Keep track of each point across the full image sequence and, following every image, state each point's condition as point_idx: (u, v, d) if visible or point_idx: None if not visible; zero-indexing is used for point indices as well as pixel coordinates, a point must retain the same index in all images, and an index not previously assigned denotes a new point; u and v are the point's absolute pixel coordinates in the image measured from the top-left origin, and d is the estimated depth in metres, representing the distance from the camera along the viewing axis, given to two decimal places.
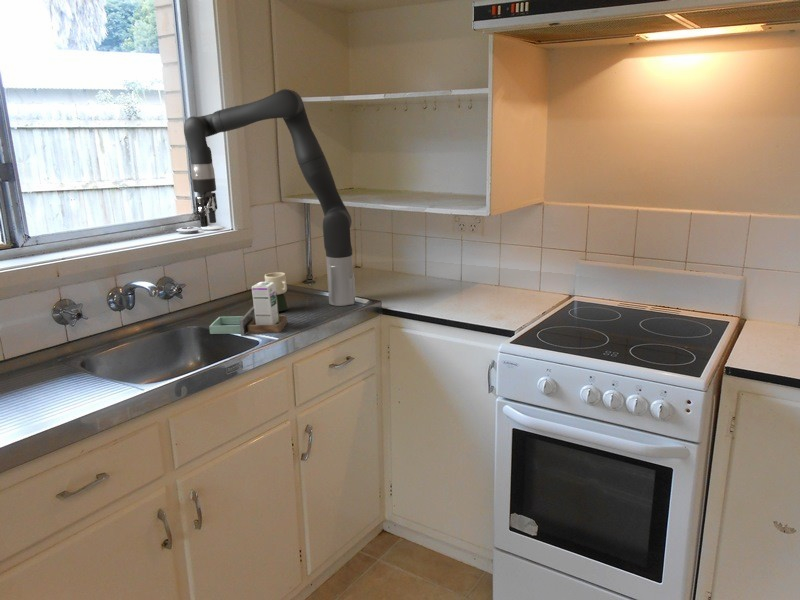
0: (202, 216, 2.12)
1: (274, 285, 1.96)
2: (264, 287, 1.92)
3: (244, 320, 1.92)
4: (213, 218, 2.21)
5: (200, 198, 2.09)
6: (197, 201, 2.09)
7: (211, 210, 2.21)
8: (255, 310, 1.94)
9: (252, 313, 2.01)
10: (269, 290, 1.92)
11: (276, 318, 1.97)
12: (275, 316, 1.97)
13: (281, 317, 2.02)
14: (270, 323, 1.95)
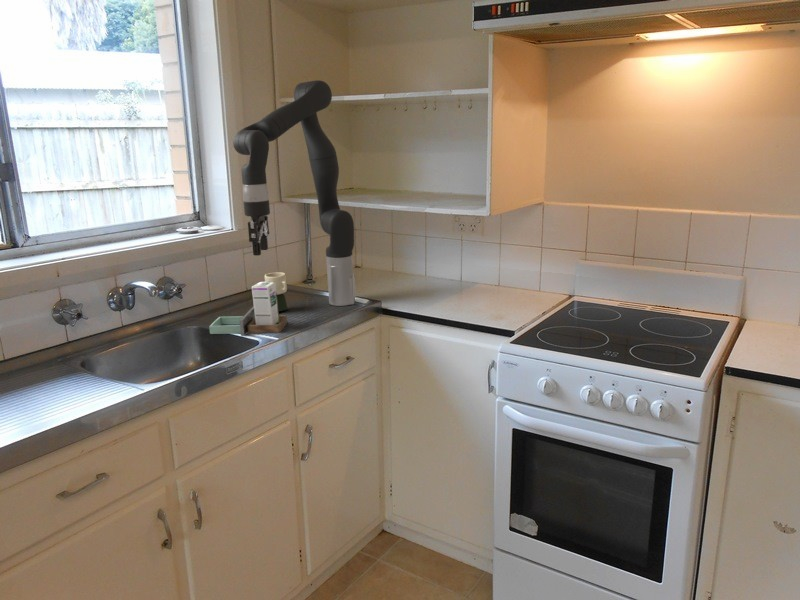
0: (255, 244, 1.86)
1: (274, 285, 1.96)
2: (264, 287, 1.92)
3: (244, 320, 1.92)
4: (265, 244, 1.95)
5: (254, 223, 1.82)
6: (250, 227, 1.83)
7: (263, 235, 1.94)
8: (255, 310, 1.94)
9: (252, 313, 2.01)
10: (269, 290, 1.92)
11: (276, 318, 1.97)
12: (275, 316, 1.97)
13: (281, 317, 2.02)
14: (270, 323, 1.95)
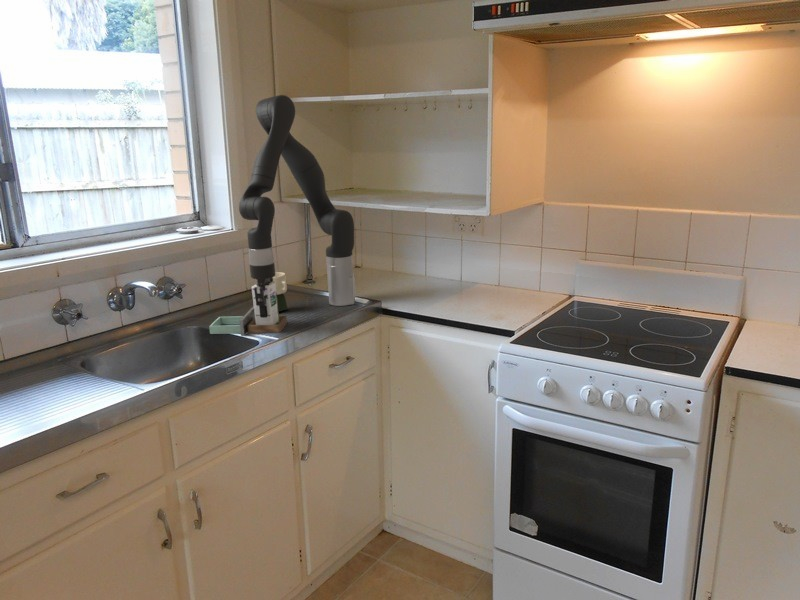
0: (262, 307, 1.92)
1: (274, 285, 1.96)
2: None
3: (244, 320, 1.92)
4: None
5: (260, 289, 1.88)
6: (257, 292, 1.88)
7: None
8: (255, 310, 1.94)
9: (252, 313, 2.01)
10: (269, 290, 1.92)
11: (276, 318, 1.97)
12: (275, 316, 1.97)
13: (281, 317, 2.02)
14: (270, 323, 1.95)
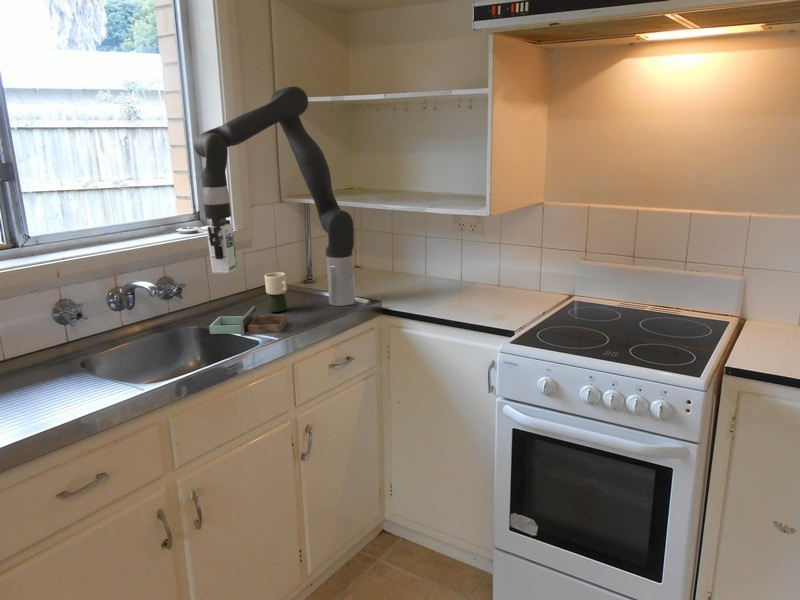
0: (217, 247, 1.87)
1: (230, 227, 1.91)
2: None
3: (244, 320, 1.92)
4: None
5: (214, 228, 1.83)
6: (210, 232, 1.84)
7: None
8: (210, 252, 1.90)
9: (252, 313, 2.01)
10: (224, 230, 1.88)
11: (232, 260, 1.93)
12: (231, 258, 1.92)
13: (281, 317, 2.02)
14: (226, 265, 1.90)
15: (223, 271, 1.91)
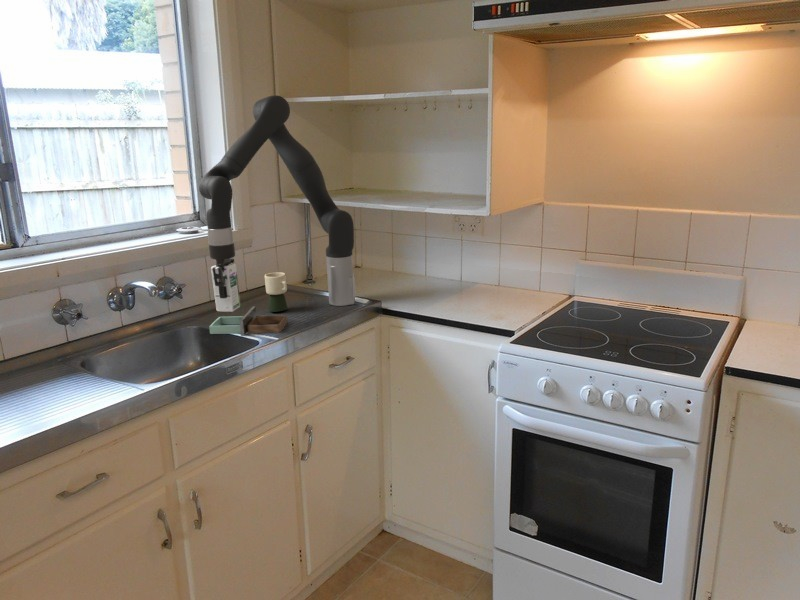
0: (221, 287, 1.91)
1: (234, 266, 1.95)
2: None
3: (244, 320, 1.92)
4: None
5: (218, 269, 1.87)
6: (215, 272, 1.87)
7: None
8: (215, 291, 1.93)
9: (252, 313, 2.01)
10: (228, 270, 1.91)
11: (236, 299, 1.96)
12: (235, 297, 1.95)
13: (281, 317, 2.02)
14: (230, 304, 1.93)
15: (227, 310, 1.94)
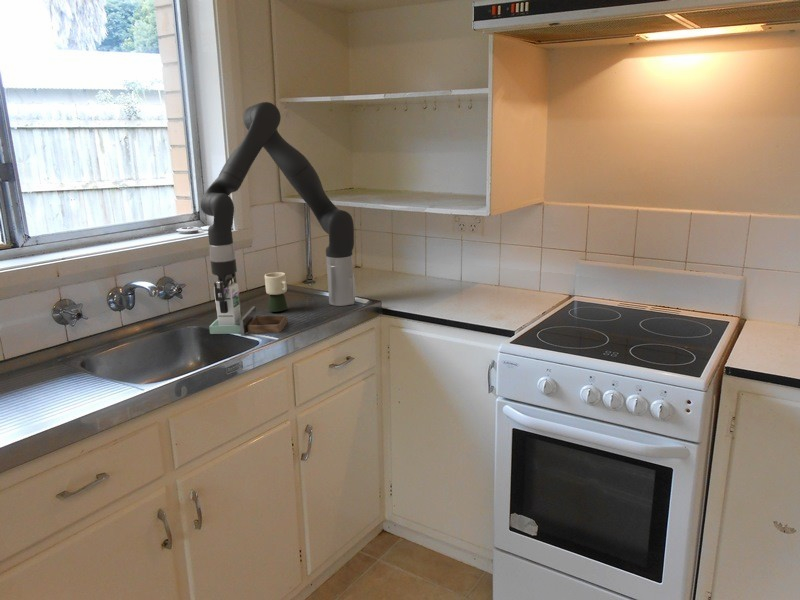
0: (222, 302, 1.91)
1: (237, 286, 1.97)
2: (226, 288, 1.92)
3: (244, 320, 1.92)
4: None
5: (220, 283, 1.88)
6: (216, 287, 1.88)
7: None
8: (217, 311, 1.95)
9: (252, 313, 2.01)
10: (231, 291, 1.93)
11: (239, 318, 1.98)
12: (238, 316, 1.97)
13: (281, 317, 2.02)
14: (233, 324, 1.95)
15: None
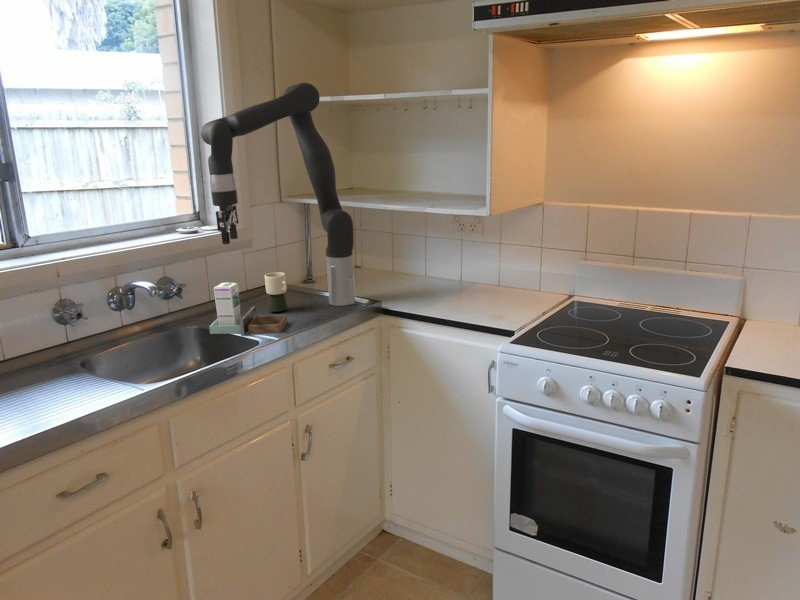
0: (224, 232, 1.90)
1: (237, 286, 1.97)
2: (226, 288, 1.92)
3: (244, 320, 1.92)
4: (234, 234, 1.99)
5: (221, 213, 1.87)
6: (218, 216, 1.87)
7: (232, 225, 1.99)
8: (217, 311, 1.95)
9: (252, 313, 2.01)
10: (231, 291, 1.93)
11: (239, 318, 1.98)
12: (238, 316, 1.97)
13: (281, 317, 2.02)
14: (233, 324, 1.95)
15: None
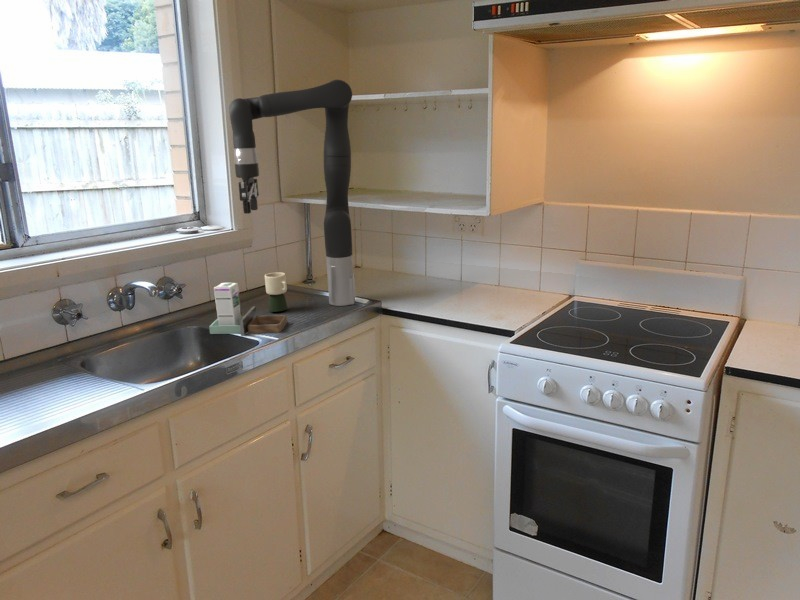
0: (245, 202, 2.04)
1: (237, 286, 1.97)
2: (226, 288, 1.92)
3: (244, 320, 1.92)
4: (255, 205, 2.13)
5: (244, 183, 2.01)
6: (241, 186, 2.01)
7: (253, 197, 2.13)
8: (217, 311, 1.95)
9: (252, 313, 2.01)
10: (231, 291, 1.93)
11: (239, 318, 1.98)
12: (238, 316, 1.97)
13: (281, 317, 2.02)
14: (233, 324, 1.95)
15: None
